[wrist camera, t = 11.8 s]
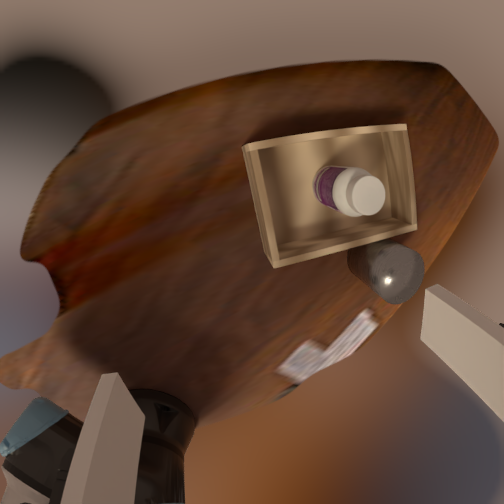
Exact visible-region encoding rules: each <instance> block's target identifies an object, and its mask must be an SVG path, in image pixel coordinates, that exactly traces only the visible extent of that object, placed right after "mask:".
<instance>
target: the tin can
mask: <svg viewBox="0 0 504 504" xmlns="http://www.w3.org/2000/svg"><path fill="white" fill-rule="evenodd" d="M347 262H348V266H349V269H350V270H351V272H352V273H353V274H354V275H356V276H357V277H358V278H359V279H360V280H362V281H363V282H364V283H365V284H366V285H368V286H369V287H370V288H371V289H372V290H374V291H375V292H376V293H377V294H378V295H379V296H381V297H382V298H383V299H384V300H385V301H387V302H388V303H391V304H400V303H403V302H405V301H407V300H408V299H410V298H411V297H412V296H413V295H414V294H415V293H416V292H417V290H418V288H419V287H420V285H421V283H422V280H423V277H424V262H423V259H422V257H421V256H420V254H419V253H417V252H416V251H414V250H412V249H410V248H408V247H406V246H404V245H402V244H400V243H398V242H396V241H394V240H392V239H390V238H386V239H383V240H379V241H375V242H372V243H368V244H365V245H361V246H357V247H354V248H350V249H349V251H348V255H347Z"/></svg>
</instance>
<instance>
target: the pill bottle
mask: <svg viewBox="0 0 504 504" xmlns="http://www.w3.org/2000/svg"><path fill="white" fill-rule="evenodd" d="M312 189H313V194H314V196H315V198H316V199H317V201H318V202H320V203H321V204H322V205H324V206H326V207H329V208H331V209H333V210H336V211H338V212H340V213H343V214H345V215H348V216H351V217H358V216H362V215H373V214H375V213H377V212H378V211H379V210H380V209H381V208H382V206H383V204H384V201H385V188H384V186H383V184H382V182H381V181H380V180H379V179H378V178H376V177H374V176H372V175H371V174H370V173H369V172H367V171H366V170H364V169H362V168H358V167H347V166H332V165H331V166H326V167H323V168H322V169H320V170H319V171H318V172H317V173H316V175H315V177H314V179H313V182H312Z"/></svg>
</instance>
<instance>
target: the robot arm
mask: <svg viewBox="0 0 504 504" xmlns="http://www.w3.org/2000/svg"><path fill="white" fill-rule="evenodd" d="M421 340H422V341H423V342H424V343H425V344H426V345H427V346H428V347H429V348H430V349H432V351H434V352H435V353H436V354H437V355H438V356H439V357H440V358H441V359H442V360H443V361H444V362H445V363H446V364H447V365H448V366H449V367H450V368H451V369H452V370H453V371H454V372H455V373H456V374H457V375H458V376H459V377H460V378H461V379H462V380H463V381H464V382H465V383H466V384H468V386H469V387H471V389H472V390H473V391H474V392H475V393H476V394H478V396H479V397H480V398H481V399H482V400H483V401H484V402H485V403H486V404H487V405H488V406H489V407H490V408H491V409H492V410H493V411H494V412H495V413H496V414H497V416H498V417H499V418H500V419H501V420H502V421H503V422H504V324H502V323H500V324H497V323H496V322H494V321H493V320H492V319H490V318H488V317H487V316H485V315H484V314H483V313H481V312H480V311H478V310H477V309H475V308H474V307H472V306H471V305H469V304H468V303H467V302H465V301H463V300H462V299H460V298H459V297H457V296H456V295H454V294H453V293H451V292H450V291H448V290H447V289H445V288H443V287H442V286H440V285H439V284H436V285H434V286H431V287H429V288H427V289H425V301H424V313H423V322H422V331H421ZM68 412H69V411H68V410H64V409H62V408H61V407H59V406H58V405H56V404H55V403H53V402H52V401H50V400H49V399H47V398H45V397H37V398H35V399H34V400H33V401H32V402H31V403H30V404H29V405H28V406H27V408H26V409H25V410H24V412H23V413H22V414H21V416H20V417H19V418H18V419H17V421H16V422H15V423H14V425H13V426H12V428H11V429H10V430H9V432H8V433H7V435H6V436H5V438H4V439H3V441H2V442H1V443H0V453H1V455H2V456H3V457H4V456H5V457H6V458H5V461H4V463H3V465H2V470H3V473H4V475H5V478H6V480H7V484H8V485H7V487H6V490H5V493H4V496H3V498H2V501H1V504H185V490H184V455H185V453H186V450H187V448H188V446H189V444H190V442H191V439H192V437H193V435H194V430H195V420H194V416H193V414H192V412H191V410H190V409H189V408H188V407H187V406H186V405H185V404H184V403H183V402H181V401H180V400H178V399H177V398H175V397H173V396H171V395H168V394H165V393H162V392H159V391H154V390H146V389H137V390H131V391H128V389H127V387H126V386H125V384H124V382H123V381H122V379H121V377H120V376H119V374H118V372H117V373H109V374H102V376H101V378H100V381H99V383H98V386H97V389H96V391H95V394H94V396H93V399H92V402H91V405H90V407H89V410H88V413H87V416H86V419H85V422H84V423H83V422H82V421H80V420H79V419H77V418H76V417H74V416H73V415H71V414H70V413H68Z"/></svg>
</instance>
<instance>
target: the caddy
mask: <svg viewBox="0 0 504 504" xmlns="http://www.w3.org/2000/svg"><path fill="white" fill-rule="evenodd" d="M242 150H243V155H244V159H245V164H246V169H247V173H248V178H249V183H250V187H251V192H252V197H253V201H254V206H255V211H256V215H257V220H258V225H259V230H260V234H261V239H262V244H263V249H264V253H265V255H266V256H267V258H268V260H269V261H270V263H271V264H272V266H273V268H278V267H282V266H286V265H290V264H294V263H298V262H301V261H305V260H309V259H313V258H317V257H320V256H324V255H328V254H332V253H335V252H339V251H343V250H346V249H350V248H354V247H357V246H361V245H365V244H368V243H372V242H375V241H379V240H383V239H386V238H390V237H393V236H397V235H400V234H404V233H407V232H411V231H414V230H417V214H416V198H415V186H414V176H413V167H412V159H411V151H410V144H409V138H408V132H407V126H406V124H392V125H377V126H365V127H354V128H344V129H336V130H327V131H320V132H312V133H305V134H299V135H292V136H286V137H280V138H274V139H269V140H263V141H258V142H253V143H248V144H246V145H244V146H242ZM331 165H332V166H347V167H358V168H362V169H364V170H366V171H367V172H369V173H370V174H371V175H372V176H374V177H376V178H378V179H379V180H380V181H381V182H382V184H383V186H384V188H385V201H384V204H383V206H382V208H381V209H380V210H379V211H378V212H377V213H375V214H373V215H362V216H358V217H351V216H348V215H345V214H343V213H340V212H338V211H336V210H333V209H331V208H329V207H326V206H324V205H322V204H321V203H320V202H318V201H317V199H316V198H315V196H314V194H313V189H312V182H313V179H314V177H315V175H316V173H317V172H318V171H319V170H320V169H322V168H323V167H326V166H331Z"/></svg>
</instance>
